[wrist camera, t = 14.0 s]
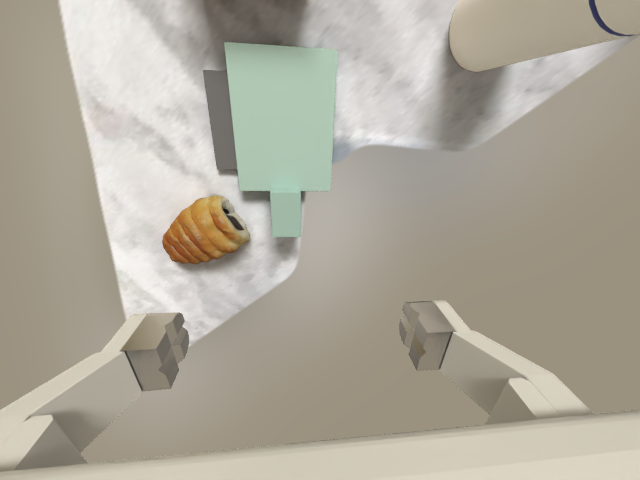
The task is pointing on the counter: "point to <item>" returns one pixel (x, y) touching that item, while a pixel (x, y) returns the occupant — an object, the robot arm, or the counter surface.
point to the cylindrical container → (534, 28)
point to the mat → (220, 118)
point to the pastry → (205, 231)
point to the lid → (282, 123)
